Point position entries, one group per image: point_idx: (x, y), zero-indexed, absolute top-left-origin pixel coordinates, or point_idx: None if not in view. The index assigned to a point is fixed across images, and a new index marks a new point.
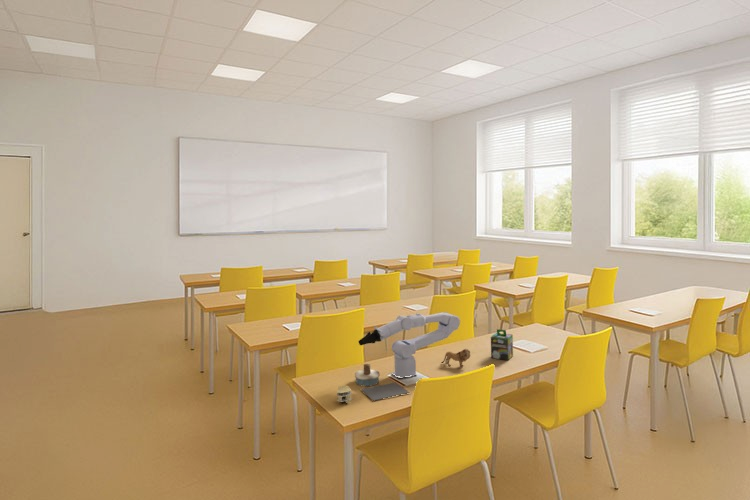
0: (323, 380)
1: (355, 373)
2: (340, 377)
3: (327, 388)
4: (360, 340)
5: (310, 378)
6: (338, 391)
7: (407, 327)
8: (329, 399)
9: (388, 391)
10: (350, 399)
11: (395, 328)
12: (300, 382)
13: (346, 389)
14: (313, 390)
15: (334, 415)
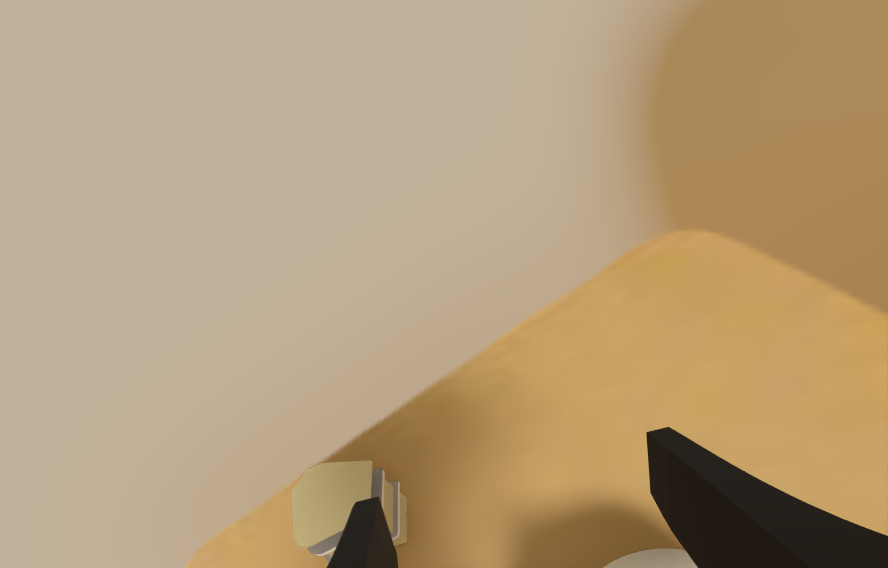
0: (687, 341)
1: (672, 555)
2: (781, 433)
3: (555, 399)
4: (665, 458)
5: (710, 267)
6: (315, 473)
7: None
8: (415, 444)
9: None
10: (328, 560)
11: None
12: (638, 252)
13: (322, 515)
14: (531, 342)
15: (266, 501)
